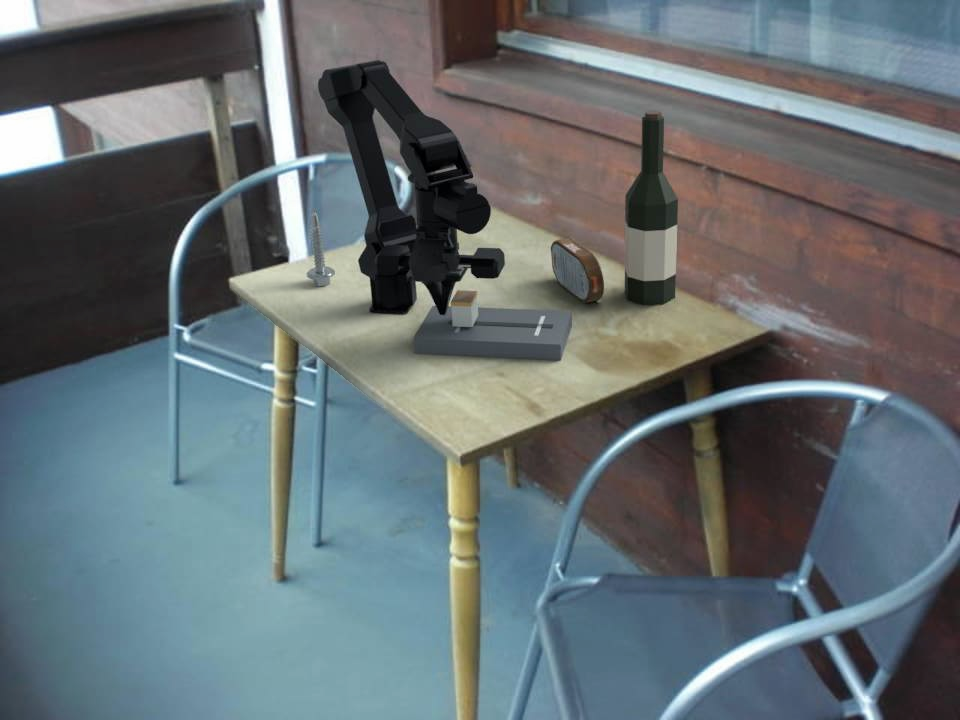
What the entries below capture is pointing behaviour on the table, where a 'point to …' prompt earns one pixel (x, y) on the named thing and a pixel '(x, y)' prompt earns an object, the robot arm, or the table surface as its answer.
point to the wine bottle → (651, 223)
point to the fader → (464, 308)
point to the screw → (318, 256)
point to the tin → (577, 270)
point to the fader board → (497, 334)
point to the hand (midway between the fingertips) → (443, 314)
